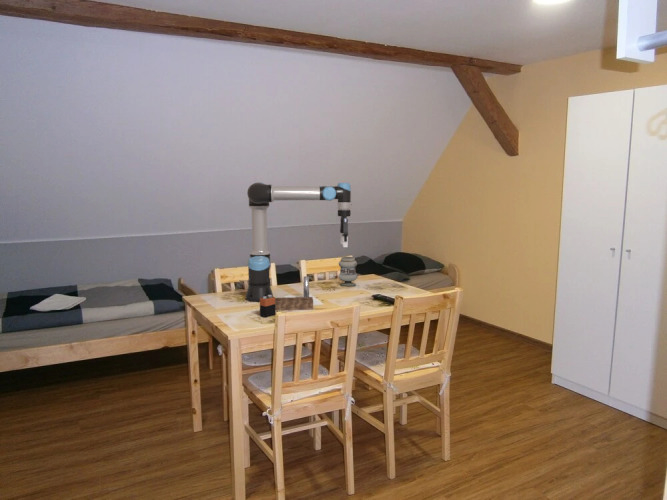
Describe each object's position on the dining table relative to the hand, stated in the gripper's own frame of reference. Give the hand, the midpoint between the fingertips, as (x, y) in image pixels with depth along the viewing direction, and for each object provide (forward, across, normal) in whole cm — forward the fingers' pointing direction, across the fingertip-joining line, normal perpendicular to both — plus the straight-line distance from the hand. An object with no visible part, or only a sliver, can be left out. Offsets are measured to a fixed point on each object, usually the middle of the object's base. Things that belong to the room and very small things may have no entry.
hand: (343, 245), depth 292 cm
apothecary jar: (+28, +19, -5) cm, 34 cm away
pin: (+28, -22, +23) cm, 43 cm away
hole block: (+28, -34, +32) cm, 55 cm away
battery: (+28, -48, +43) cm, 71 cm away
